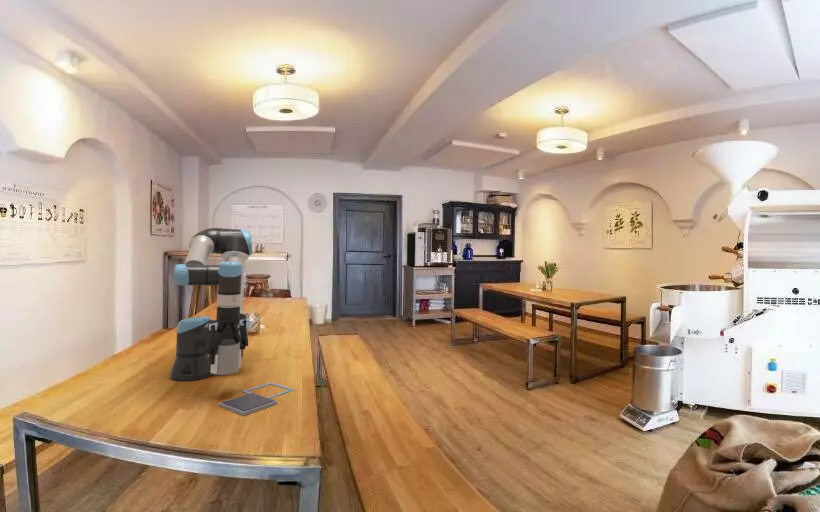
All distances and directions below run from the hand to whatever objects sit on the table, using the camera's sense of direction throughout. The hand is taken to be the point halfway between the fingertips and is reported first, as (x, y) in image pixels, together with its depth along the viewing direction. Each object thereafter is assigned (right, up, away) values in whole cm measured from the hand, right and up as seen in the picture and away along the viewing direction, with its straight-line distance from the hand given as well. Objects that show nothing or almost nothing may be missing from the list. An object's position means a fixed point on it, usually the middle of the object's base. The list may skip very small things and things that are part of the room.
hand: (225, 369), depth 142 cm
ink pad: (+11, -10, -7) cm, 16 cm away
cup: (0, -1, 0) cm, 1 cm away
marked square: (+13, -10, +7) cm, 17 cm away
